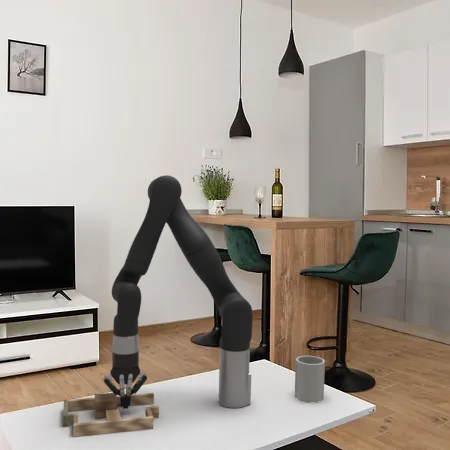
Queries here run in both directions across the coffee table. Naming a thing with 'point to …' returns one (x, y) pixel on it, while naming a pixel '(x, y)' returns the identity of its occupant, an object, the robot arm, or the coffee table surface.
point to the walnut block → (104, 404)
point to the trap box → (110, 416)
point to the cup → (309, 378)
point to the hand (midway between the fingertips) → (125, 407)
